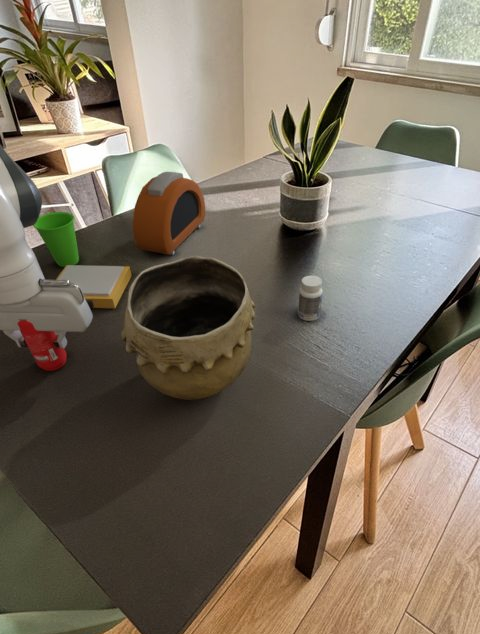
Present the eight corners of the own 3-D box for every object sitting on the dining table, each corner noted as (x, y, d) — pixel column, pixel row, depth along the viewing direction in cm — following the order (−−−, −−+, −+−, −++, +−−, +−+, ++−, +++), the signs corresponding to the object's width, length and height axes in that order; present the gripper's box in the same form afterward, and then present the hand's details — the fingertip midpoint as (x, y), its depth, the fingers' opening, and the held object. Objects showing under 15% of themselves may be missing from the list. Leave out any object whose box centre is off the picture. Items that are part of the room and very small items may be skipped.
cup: (92, 264, 105) (79, 222, 97) (54, 275, 101) (37, 232, 94) (81, 249, 110) (68, 208, 103) (44, 259, 107) (28, 217, 99)
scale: (45, 308, 91) (40, 296, 89) (69, 274, 102) (65, 262, 99) (114, 310, 91) (110, 298, 89) (131, 275, 101) (129, 264, 99)
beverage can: (32, 368, 78) (4, 316, 70) (52, 350, 82) (28, 299, 73) (55, 375, 77) (29, 323, 68) (74, 357, 80) (52, 305, 72)
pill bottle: (322, 320, 88) (326, 286, 82) (300, 322, 88) (302, 288, 82) (317, 306, 92) (320, 273, 86) (295, 309, 91) (297, 275, 85)
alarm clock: (168, 262, 105) (157, 196, 94) (136, 256, 107) (121, 191, 96) (208, 222, 122) (202, 161, 110) (179, 217, 124) (171, 157, 112)
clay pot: (274, 411, 70) (276, 315, 57) (143, 442, 66) (111, 346, 52) (243, 333, 85) (238, 242, 72) (134, 354, 81) (107, 261, 67)
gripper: (84, 269, 68) (106, 335, 78) (-40, 267, 69) (-3, 332, 78) (69, 292, 64) (95, 359, 73) (-64, 289, 64) (-22, 356, 74)
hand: (43, 345), depth 76 cm, fingers closed on beverage can, 5 cm apart
